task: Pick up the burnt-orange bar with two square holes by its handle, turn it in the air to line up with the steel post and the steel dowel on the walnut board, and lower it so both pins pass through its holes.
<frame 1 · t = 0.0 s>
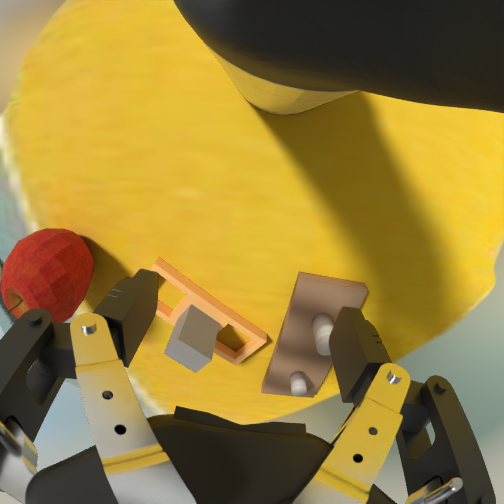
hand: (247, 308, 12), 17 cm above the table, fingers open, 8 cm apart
pin board: (307, 342, 35), on the table
apple: (78, 250, 31), on the table
hole bar: (200, 313, 33), on the table
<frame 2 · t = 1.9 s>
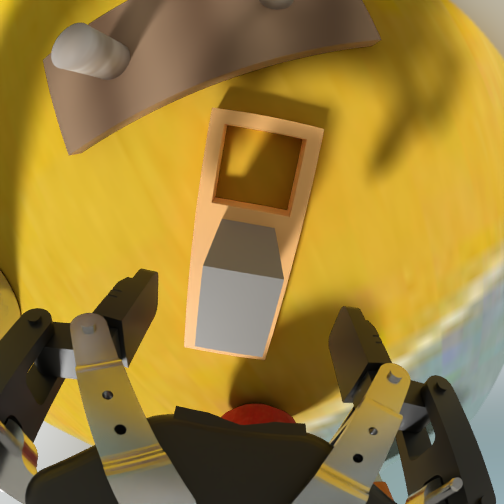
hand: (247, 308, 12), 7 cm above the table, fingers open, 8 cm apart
pin board: (195, 31, 13), on the table
apple: (256, 410, 25), on the table
hole bar: (243, 246, 18), on the table
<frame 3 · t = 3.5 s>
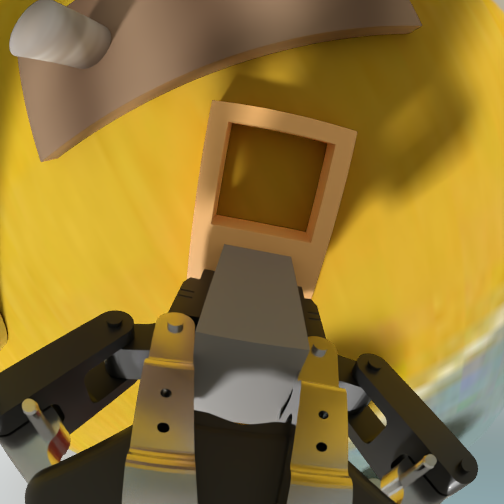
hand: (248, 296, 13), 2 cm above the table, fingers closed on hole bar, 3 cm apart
pin board: (193, 7, 9), on the table
hole bar: (250, 274, 15), on the table, touching gripper
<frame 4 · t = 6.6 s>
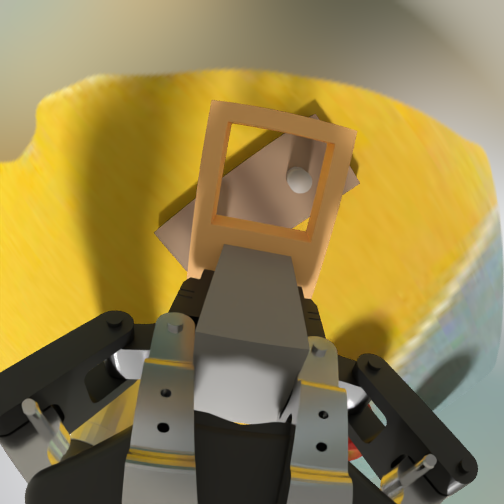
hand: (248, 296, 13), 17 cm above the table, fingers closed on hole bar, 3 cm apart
pin board: (253, 202, 28), on the table
hole bar: (250, 274, 15), point 15 cm above the table, touching gripper
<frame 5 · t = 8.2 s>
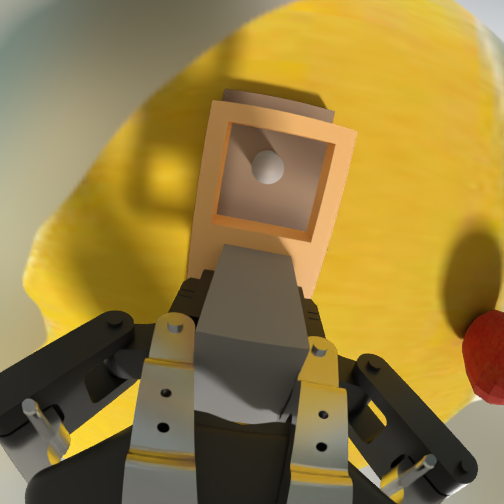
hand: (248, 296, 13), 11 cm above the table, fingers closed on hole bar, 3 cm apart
pin board: (254, 222, 23), on the table
apple: (475, 324, 27), on the table
hole bar: (250, 273, 15), point 9 cm above the table, touching gripper
when the fingers open (5 cm above the table, at t = 9.8 s): hole bar stays where it is, resting on pin board.
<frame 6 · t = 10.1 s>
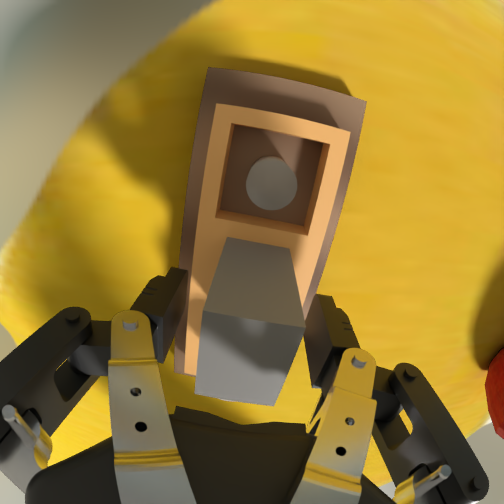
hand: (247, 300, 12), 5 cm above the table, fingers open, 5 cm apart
pin board: (252, 254, 17), on the table
apple: (500, 354, 21), on the table
hole bar: (251, 266, 16), point 1 cm above the table, touching pin board
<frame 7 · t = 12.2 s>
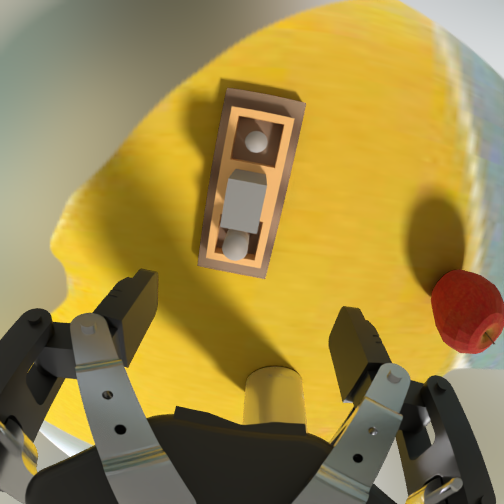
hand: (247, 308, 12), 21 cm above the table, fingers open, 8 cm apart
pin board: (248, 185, 30), on the table
apple: (444, 285, 34), on the table
hole bar: (247, 188, 29), point 1 cm above the table, touching pin board
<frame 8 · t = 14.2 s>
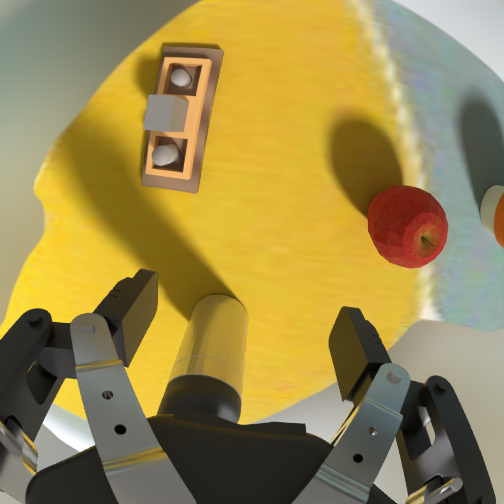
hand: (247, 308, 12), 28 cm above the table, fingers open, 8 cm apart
pin board: (181, 117, 34), on the table
apple: (385, 210, 38), on the table
hole bar: (178, 116, 33), point 1 cm above the table, touching pin board
reusable coffee cup: (494, 208, 36), on the table
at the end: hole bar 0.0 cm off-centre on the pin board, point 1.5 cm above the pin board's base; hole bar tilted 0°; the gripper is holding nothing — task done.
